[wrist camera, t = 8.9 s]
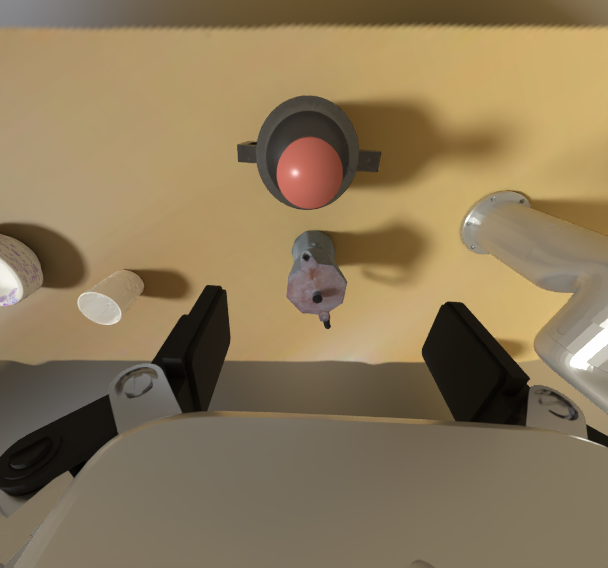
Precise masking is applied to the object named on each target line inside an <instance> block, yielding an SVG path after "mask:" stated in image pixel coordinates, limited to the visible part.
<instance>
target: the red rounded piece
mask: <svg viewBox="0 0 608 568" xmlns="http://www.w3.org/2000/svg"><path fill="white" fill-rule="evenodd" d="M342 178H343V168H342V163H341V160H340V158H339V156H338V154H337V152H336V151H335V150H334V148H333V147H332V146H330V145H329V144H328V143H327V142H325V141H324V140H322V139H320V138H317V137H312V136H307V137H302V138H299V139H297V140H295V141H293V142H292V143H291V144H290V145H289V146H288V147H287V148H286V149H285V151H284V152H283V154H282V155H281V157H280V159H279V162H278V166H277V181H278V185H279V188H280V190H281V192H282V194H283V195H284V196H285V198H286V199H287V200H288V201H289V202H291V203H292V204H294V205H295V206H298V207H301V208H305V209H313V208H318V207H321V206H323V205H325V204H327V203H328V202H329V201H331V200H332V199H333V198H334V196H335V195H336V194H337V192H338V190H339V188H340V186H341V183H342Z"/></svg>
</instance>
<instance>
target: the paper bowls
mask: <svg viewBox="0 0 608 568" xmlns="http://www.w3.org/2000/svg"><path fill="white" fill-rule="evenodd" d="M42 283H43V274H42V270H41V265H40V262H39V260H38V258H37V256H36V255H35V253H34V252H33V251H32V250H31V249H30V248H29V247H27V246H26V245H25V244H23V243H22V242H20V241H18V240H16V239H14V238H12V237H9V236H5V235H2V234H0V306H9V305H14V304H17V303H19V302H20V301H21V300H23V299H25V298H27V297H28V296H29V295H31V294H32V293H34V292H36V291H37V290H38V289H39V288H40V287H41V286H42Z"/></svg>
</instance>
